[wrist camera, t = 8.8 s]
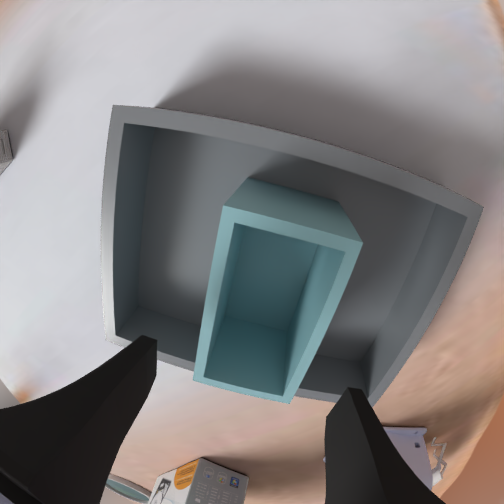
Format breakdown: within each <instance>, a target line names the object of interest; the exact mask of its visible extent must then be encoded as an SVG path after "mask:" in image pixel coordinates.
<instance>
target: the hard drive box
mask: <svg viewBox="0 0 504 504" xmlns="http://www.w3.org/2000/svg"><path fill="white" fill-rule="evenodd" d="M248 480H249V478H248V477H247V476H245V475H242V474H239V473H237V472H234V471H231V470H229V469H226V468H224V467H221V466H219V465H216V464H214V463H212V462H209V461H207V460H205V459H203V458H200V459H198V460H195V461H193V462H189V463H187V464H185V465H184V466H182V467H180V468H177V469H175V470H172V471H170V472H166V473H164V474H162V475H160V476H158V478H157V480H156V483H155V486H154V488H153V491H152V493H151V496H150V499H149V501H148V504H244V500H245V495H246V490H247V485H248Z"/></svg>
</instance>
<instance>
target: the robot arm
mask: <svg viewBox="0 0 504 504" xmlns="http://www.w3.org/2000/svg"><path fill="white" fill-rule="evenodd" d="M157 341H158V340H156V339H153V338H150V337H148V336H145V335H141V336H139V337H138V338H137V339H135V340H134V341H133V342H132V343H130V344H129V345H128V346H127V347H125V348H124V349H123V350H121V351H120V352H119V353H117V354H116V355H115V356H113V357H112V358H111V359H109V360H108V361H106V362H105V363H104V364H102V365H101V366H99V367H98V368H96V369H95V370H93V371H92V372H90V373H88V374H87V375H85V376H84V377H82V378H80V379H79V380H77V381H75V382H73V383H71V384H69V385H68V386H66V387H64V388H62V389H59V390H57V391H55V392H53V393H50V394H48V395H46V396H43V397H41V398H38V399H35V400H33V401H29V402H26V403H23V404H19V405H16V406H13V407H9V408H4V409H0V504H100V500H101V497H102V494H103V491H104V488H105V485H106V482H107V479H108V476H109V474H110V471H111V468H112V466H113V463H114V461H115V458H116V456H117V453H118V451H119V448H120V446H121V444H122V442H123V440H124V438H125V436H126V434H127V433H128V431H129V429H130V427H131V426H132V424H133V422H134V420H135V418H136V417H137V415H138V413H139V411H140V410H141V408H142V406H143V404H144V402H145V401H146V399H147V397H148V395H149V392H150V390H151V387H152V385H153V382H154V380H155V377H156V369H157ZM426 432H427V429H426V428H404V427H383V426H382V425H381V423H380V421H379V419H378V418H377V416H376V414H375V412H374V410H373V409H372V407H371V405H370V403H369V401H368V399H367V398H366V396H365V394H364V392H363V391H362V389H358V388H351V387H347V388H346V390H345V391H344V393H343V394H342V396H341V397H340V399H339V400H338V402H337V403H336V404H335V406H334V407H333V409H332V410H331V411H330V413H329V414H328V416H327V417H326V427H325V457H324V458H323V461H324V462H325V465H326V499H325V504H446V503H444V502H443V501H442V500H441V499H440V498H438V497H437V496H436V495H435V494H434V493H433V492H432V491H431V489H432V485H433V475H432V470H431V465H430V461H429V457H428V453H427V449H426V445H425V441H424V437H423V435H424V434H425V433H426Z"/></svg>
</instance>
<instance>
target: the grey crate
mask: <svg viewBox="0 0 504 504" xmlns="http://www.w3.org/2000/svg"><path fill="white" fill-rule="evenodd" d="M248 177H249V178H253V179H257V180H261V181H265V182H269V183H273V184H277V185H281V186H285V187H288V188H292V189H296V190H299V191H303V192H307V193H310V194H314V195H317V196H321V197H324V198H328V199H331V200H335V201H338V202H339V203H340V205H341V206H342V208H343V209H344V211H345V213H346V214H347V216H348V218H349V219H350V221H351V223H352V224H353V226H354V228H355V229H356V231H357V233H358V235H359V236H360V238H361V240H362V242H363V245H362V247H361V250H360V253H359V255H358V258H357V260H356V263H355V265H354V268H353V270H352V273H351V275H350V278H349V280H348V283H347V285H346V288H345V290H344V292H343V295H342V297H341V299H340V302H339V304H338V306H337V309H336V311H335V313H334V315H333V318H332V320H331V322H330V324H329V326H328V329H327V331H326V333H325V335H324V337H323V339H322V341H321V343H320V346H319V348H318V350H317V352H316V354H315V356H314V358H313V360H312V362H311V364H310V366H309V368H308V370H307V372H306V374H305V376H304V378H303V380H302V382H301V383H300V385H299V387H298V389H297V391H296V393H295V395H294V396H298V397H304V398H310V399H316V400H322V401H328V402H335V403H337V402H338V400H339V399H340V397H341V396H342V394H343V393H344V391H345V390H346V388H347V387H351V388H358V389H362V391H363V392H364V394H365V396H366V398H367V399H368V401H369V403H370V405H371V407H373V406H374V405H375V404H376V402H377V401H378V400H379V398H380V397H381V396H382V395H383V393H384V392H385V391H386V389H387V388H388V387H389V385H390V384H391V383H392V381H393V380H394V378H395V377H396V376H397V374H398V373H399V371H400V370H401V368H402V367H403V366H404V364H405V363H406V361H407V360H408V358H409V357H410V355H411V354H412V352H413V350H414V349H415V347H416V346H417V344H418V343H419V341H420V339H421V338H422V336H423V335H424V333H425V331H426V330H427V328H428V326H429V324H430V323H431V321H432V319H433V318H434V316H435V314H436V312H437V310H438V309H439V307H440V305H441V303H442V301H443V299H444V297H445V296H446V294H447V292H448V290H449V288H450V286H451V284H452V282H453V280H454V278H455V276H456V273H457V271H458V269H459V267H460V265H461V263H462V261H463V258H464V256H465V254H466V251H467V249H468V247H469V244H470V242H471V240H472V237H473V235H474V232H475V230H476V227H477V224H478V222H479V219H480V216H481V213H482V211H483V208H484V207H483V206H481V205H479V204H477V203H475V202H473V201H472V200H470V199H468V198H466V197H464V196H462V195H460V194H458V193H456V192H454V191H452V190H450V189H448V188H445V187H443V186H441V185H439V184H437V183H434V182H432V181H430V180H427V179H425V178H423V177H420V176H418V175H415V174H413V173H410V172H408V171H405V170H403V169H400V168H398V167H395V166H393V165H390V164H387V163H385V162H382V161H379V160H376V159H373V158H371V157H368V156H365V155H362V154H359V153H356V152H353V151H350V150H347V149H344V148H341V147H337V146H334V145H331V144H328V143H324V142H321V141H317V140H314V139H310V138H307V137H303V136H300V135H296V134H292V133H288V132H284V131H280V130H276V129H272V128H268V127H263V126H259V125H255V124H250V123H245V122H240V121H235V120H230V119H225V118H220V117H214V116H209V115H203V114H196V113H190V112H183V111H176V110H168V109H160V108H151V107H139V106H123V105H113V107H112V113H111V120H110V126H109V133H108V140H107V148H106V157H105V167H104V178H103V191H102V210H101V284H102V302H103V316H104V327H105V337H106V340H107V341H109V342H112V343H114V344H117V345H119V346H122V347H124V348H125V347H127V346H128V345H129V344H130V343H132V342H133V341H134V340H135V339H137V338H138V337H139V336H141V335H145V336H148V337H150V338H153V339H156V340H158V341H157V360H160V361H163V362H166V363H169V364H172V365H175V366H178V367H181V368H184V369H188V370H191V371H194V368H195V362H196V355H197V349H198V342H199V336H200V330H201V324H202V318H203V312H204V306H205V300H206V294H207V288H208V283H209V277H210V271H211V266H212V260H213V255H214V250H215V244H216V239H217V234H218V229H219V224H220V219H221V214H222V209H223V205H224V204H225V203H226V201H227V200H228V199H229V198H230V197H231V196H232V195H233V193H234V192H235V191H236V190H237V189H238V188H239V187H240V185H241V184H242V183H243V182H244V181H245V180H246V179H247V178H248Z"/></svg>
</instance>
